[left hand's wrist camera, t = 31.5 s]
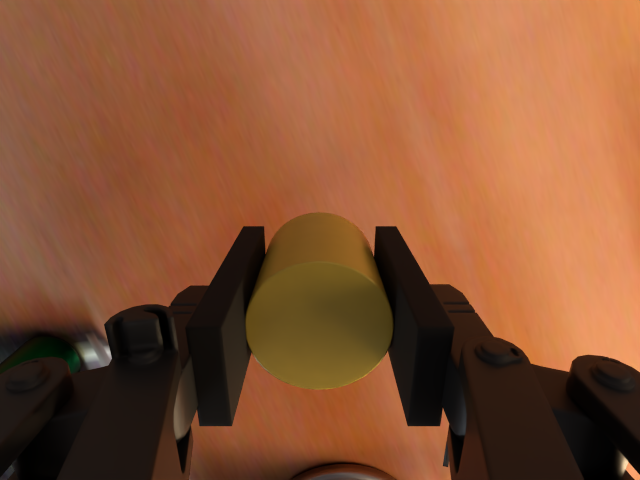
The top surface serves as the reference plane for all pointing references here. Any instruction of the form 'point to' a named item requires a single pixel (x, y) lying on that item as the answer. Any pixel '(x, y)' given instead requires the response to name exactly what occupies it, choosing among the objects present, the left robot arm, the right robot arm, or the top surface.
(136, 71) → the top surface
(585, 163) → the top surface
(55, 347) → the soda can
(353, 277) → the tin
